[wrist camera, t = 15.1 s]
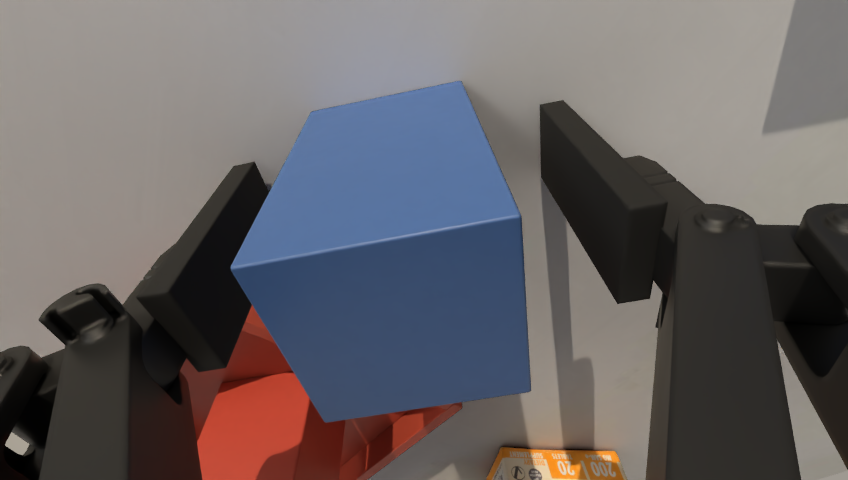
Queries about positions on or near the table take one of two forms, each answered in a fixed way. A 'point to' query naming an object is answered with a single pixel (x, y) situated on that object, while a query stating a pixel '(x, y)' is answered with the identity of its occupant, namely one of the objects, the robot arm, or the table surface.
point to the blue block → (392, 259)
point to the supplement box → (556, 465)
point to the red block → (268, 433)
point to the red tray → (363, 437)
